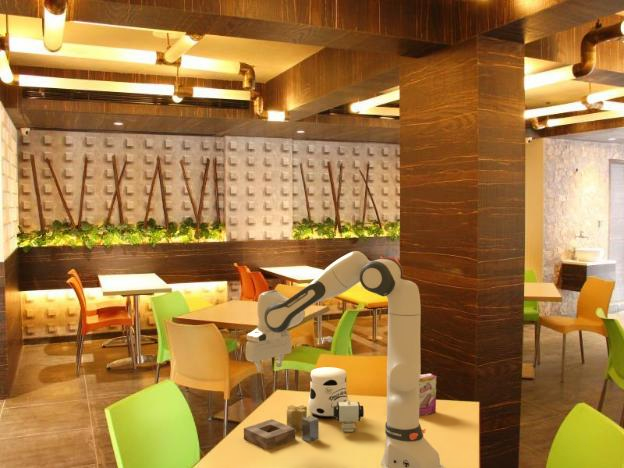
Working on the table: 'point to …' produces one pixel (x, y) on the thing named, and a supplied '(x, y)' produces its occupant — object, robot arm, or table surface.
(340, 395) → the milk container
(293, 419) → the cross bit
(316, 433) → the square bit
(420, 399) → the candy bar box
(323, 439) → the table surface
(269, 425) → the block
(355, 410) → the pneumatic valve
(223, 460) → the table surface
